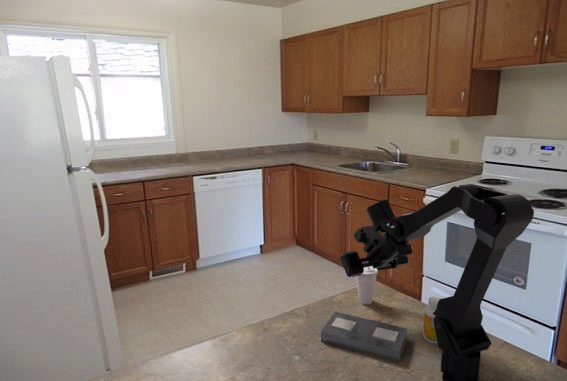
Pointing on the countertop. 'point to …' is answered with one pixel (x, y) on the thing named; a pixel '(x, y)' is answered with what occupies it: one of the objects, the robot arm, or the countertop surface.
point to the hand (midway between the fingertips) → (361, 271)
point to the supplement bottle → (430, 320)
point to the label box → (365, 336)
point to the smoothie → (366, 285)
